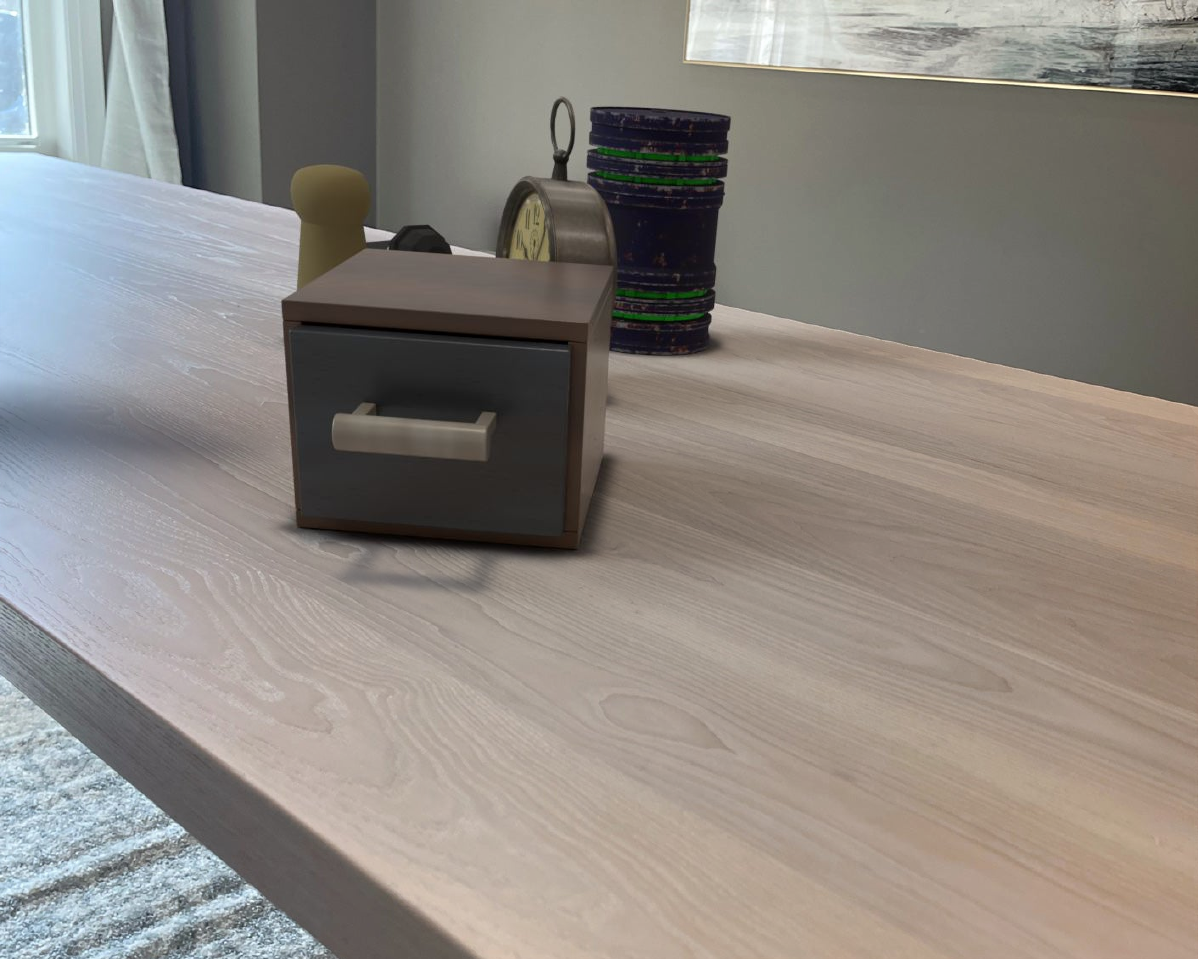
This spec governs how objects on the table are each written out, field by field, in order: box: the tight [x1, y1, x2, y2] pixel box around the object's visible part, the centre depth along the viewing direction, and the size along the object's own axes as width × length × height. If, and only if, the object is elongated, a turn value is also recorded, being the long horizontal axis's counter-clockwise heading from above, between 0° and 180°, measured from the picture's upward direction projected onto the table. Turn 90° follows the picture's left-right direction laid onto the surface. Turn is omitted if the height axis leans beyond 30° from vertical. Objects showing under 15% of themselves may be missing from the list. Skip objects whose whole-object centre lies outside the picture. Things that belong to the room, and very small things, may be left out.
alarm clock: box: [494, 95, 617, 320], centre depth 78 cm, size 11×5×16 cm, turn 21°
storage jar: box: [586, 105, 732, 356], centre depth 92 cm, size 10×10×15 cm
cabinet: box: [280, 248, 614, 550], centre depth 61 cm, size 15×13×10 cm
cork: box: [289, 164, 372, 291], centre depth 87 cm, size 6×6×11 cm
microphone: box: [366, 224, 454, 255], centre depth 108 cm, size 6×6×20 cm
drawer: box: [289, 323, 572, 538], centre depth 58 cm, size 18×11×8 cm, turn 175°
